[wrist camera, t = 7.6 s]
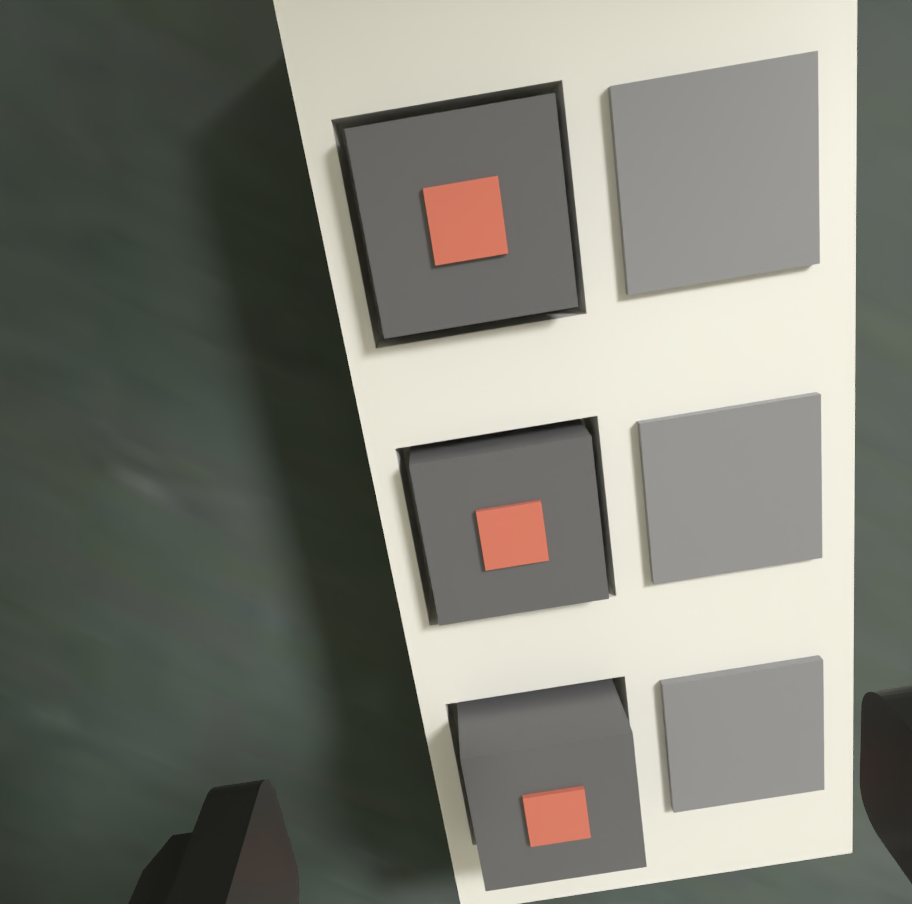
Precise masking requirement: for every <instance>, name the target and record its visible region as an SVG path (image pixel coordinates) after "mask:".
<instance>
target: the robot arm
mask: <svg viewBox="0 0 912 904" xmlns="http://www.w3.org/2000/svg"><path fill="white" fill-rule="evenodd" d="M860 789H861V795H862V800H863V803H864V807H865V810H866V812H867V815H868V817H869V820H870V822H871V824H872V826H873V828H874V830H875V832H876V833H877V835H878V836H879V838H880V839H881V841H882V842H883V844H884V845H885V846H886V848H887V849H888V851H889V852H890V854H891V855H892V856H893V858H894V859H895V861H896V862H897V863H898V865H899V866H900V868H901V869H902V871H903V872H904V873H905V875H906V876H907V878H908V879H909V881H910V882H911V883H912V686H905V687H899V688H892V689H885V690H879V691H872V692H868V693H866V694H865V696H864V697H863V701H862V711H861V753H860ZM129 904H299V879H298V871H297V866H296V861H295V858H294V854H293V851H292V848H291V844H290V841H289V837H288V834H287V830H286V827H285V823H284V820H283V817H282V813H281V810H280V806H279V803H278V799H277V796H276V792H275V789H274V787H273V785H272V783H271V782H270V781H269V780H260V781H253V782H247V783H240V784H233V785H226V786H220V787H214V788H212V789H211V790H210V791H209V793H208V794H207V797H206V799H205V801H204V804H203V807H202V809H201V812H200V815H199V817H198V820H197V823H196V825H195V828H194V831H193V833H186V834H179V835H173V836H172V837H171V838H170V839H169V840H168V842H167V843H166V844H165V845H164V846H163V848H162V849H161V850H160V851H159V852H158V854H157V855H156V856H155V857H154V858H153V859H152V861H151V862H150V863H149V864H148V865H147V867H146V868H145V869H144V870H143V872H142V874H141V876H140V879H139V881H138V883H137V886H136V888H135V890H134V893H133V895H132V897H131V900H130V902H129Z"/></svg>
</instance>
